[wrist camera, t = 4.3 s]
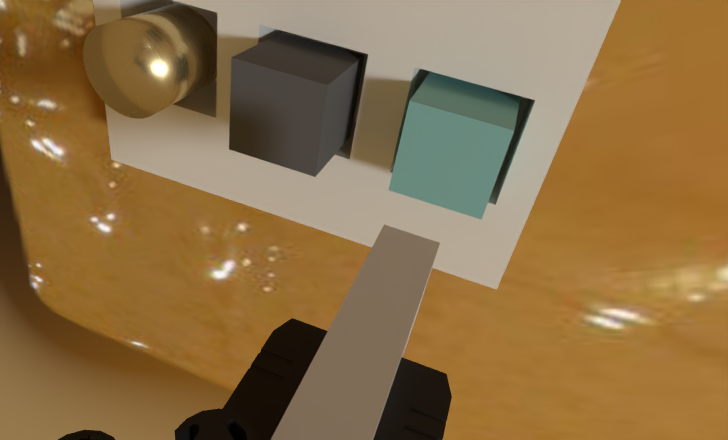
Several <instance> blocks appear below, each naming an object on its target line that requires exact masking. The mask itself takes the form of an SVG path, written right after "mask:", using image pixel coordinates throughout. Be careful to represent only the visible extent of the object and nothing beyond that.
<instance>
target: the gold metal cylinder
mask: <svg viewBox="0 0 728 440" xmlns="http://www.w3.org/2000/svg"><path fill="white" fill-rule="evenodd" d="M82 55H83V64H84V68H85V72H86V75H87V77H88V79H89V81H90V83H91V85H92V87H93V89H94V90H95V92H96V93H97V94H98V96H99V97H100V98H101V99H102V100H103V101H104V102H105V103H106V104H107V105H108V106H109V107H110V108H112V109H113V110H115V111H116V112H118V113H120V114H122V115H124V116H126V117H130V118H135V119H143V118H147V117H150V116H152V115H154V114H156V113H157V112H159V111H161V110H163V109H165V108H167V107H169V106H170V105H172V104H174V103H176V102H178V101H180V100H181V99H183V98H185V97H187V96H189V95H191V94H193V93H194V92H196V91H198V90H200V89H202V88H204V87H206V86H207V85H209V84H211V83H212V82H213V81H214V80H215V79H216V77H217V35H216V33H215V31H214V29H213V28H212V26H211V25H210V24H209V22H208V21H207V20H206V19H205V18H204V17H203V16H202V15H201V14H200V13H198V12H197V11H195V10H194V9H192V8H190V7H187V6H184V5H169V6H165V7H161V8H158V9H154V10H151V11H147V12H144V13H140V14H137V15H133V16H129V17H126V18H122V19H119V20H115V21H112V22H108V23H105V24H101V25H98V26H96V27H94V28H93V29H92V30H91V31H90V32H89V33H88V35H87V37H86V38H85V41H84V44H83V54H82Z"/></svg>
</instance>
